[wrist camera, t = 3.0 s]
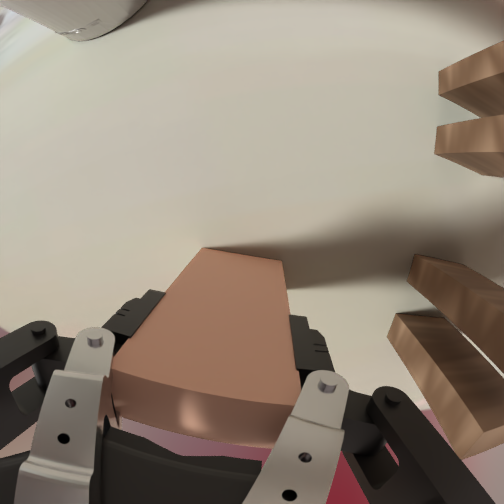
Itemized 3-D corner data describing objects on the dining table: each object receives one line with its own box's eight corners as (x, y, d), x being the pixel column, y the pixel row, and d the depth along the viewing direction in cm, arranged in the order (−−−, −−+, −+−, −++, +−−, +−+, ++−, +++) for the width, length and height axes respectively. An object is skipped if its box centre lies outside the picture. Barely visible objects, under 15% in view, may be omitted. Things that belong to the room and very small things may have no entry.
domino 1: (202, 247, 18) (106, 366, 6) (281, 260, 18) (303, 406, 6) (198, 277, 18) (116, 414, 7) (275, 290, 18) (284, 449, 7)
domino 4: (414, 253, 17) (540, 342, 5) (463, 264, 17) (574, 338, 5) (406, 281, 18) (515, 387, 6) (455, 289, 18) (557, 373, 6)
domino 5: (395, 313, 18) (483, 432, 7) (444, 317, 18) (532, 412, 7) (386, 336, 19) (459, 460, 7) (435, 339, 19) (512, 438, 7)
